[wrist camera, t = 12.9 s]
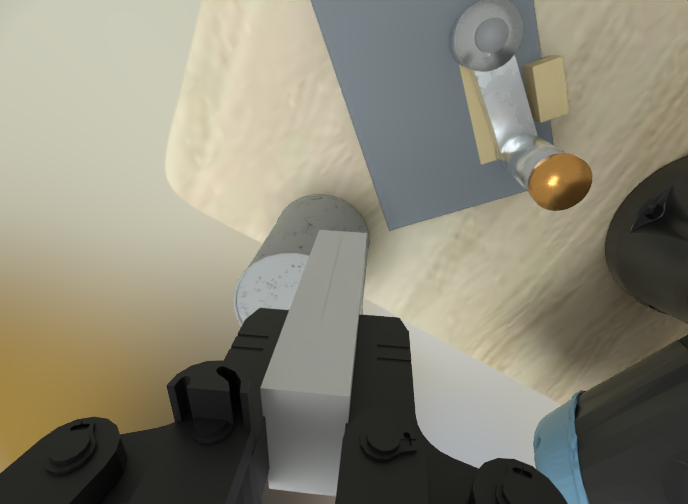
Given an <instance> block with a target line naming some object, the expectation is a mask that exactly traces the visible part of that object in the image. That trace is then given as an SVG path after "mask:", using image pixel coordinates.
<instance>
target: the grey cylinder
mask: <svg viewBox="0 0 688 504" xmlns="http://www.w3.org/2000/svg"><path fill="white" fill-rule="evenodd" d="M319 230H330V231H345V232H360V233H367V238H366V254H365V269H364V284H365V273H366V263H367V253H368V248H369V233H368V230H367V226H366V224H365V222H364V220H363V219H362V217H361V215H360V214H359V213H358V212H357V211H356V210H355V209H354V208H353V207H352V206H351V205H349V204H348V203H346V202H345V201H343V200H340V199H338V198H336V197H333V196H327V195H310V196H306V197H302V198H300V199H298V200H296V201H294V202H292V203H291V204H290V205H289V206H288V207H286V208H285V209H284V211H283V212H282V214H281V215H280V217H279V218H278V221H277V223H276V225H275V226H274V228H273V229H272V231H271V232H270V234H269V236H268V237H267V239H266V240H265V242H264V243H263V245H262V247H261V248H260V250H259V251H258V253H257V254H256V256H255V257H254V259H253V261H252V262H251V264H250V265H249V267H248V268H247V269H246V270H245V271H244V273H243V274H242V276H241V277H240V279H239V280H238V282H237V285H236V288H235V291H234V310H235V314H236V318H237V320H238V322H239V324H240V326H241V327H242V325H243V323H244V321H245V319H246V318H247V317H249V316H250V315H251V314H252V313H254V312H255V311H256V310H257V309H259V308H270V309H283V310H290V307H291V304H292V301H293V299H294V296H295V293H296V291H297V288H298V285H299V283H300V280H301V277H302V275H303V272H304V269H305V267H306V264H307V261H308V258H309V256H310V253H311V250H312V248H313V245H314V242H315V240H316V237H317V234H318V232H319ZM363 294H364V285H363ZM362 305H363V301H362ZM361 315H363V310H362V313H361Z"/></svg>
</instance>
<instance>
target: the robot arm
mask: <svg viewBox="0 0 688 504" xmlns="http://www.w3.org/2000/svg"><path fill="white" fill-rule="evenodd" d="M366 238H367V233H360V232H345V231H330V230H319V232H318V234H317V237H316V240H315V242H314V245H313V248H312V250H311V253H310V256H309V258H308V261H307V264H306V267H305V269H304V272H303V275H302V277H301V280H300V283H299V285H298V288H297V291H296V293H295V296H294V299H293V301H292V304H291V307H290V310H283V309H270V308H259V309H257V310H256V311H255V312H254V313H252V314H251V315H250V316H249V317H247V318H246V319H245V321H244V323H243V325H242V327H241V329H240V331H239V332H238V336H237V337H236V338H235V340H234V342H233V344H232V346H231V349H229V351H228V353H227V355H226V357H225V359H224V361H206V362H202V363H200V364H196V365H193V366H190V367H188V368H187V369H185V370H183V371H182V372H180V373H178V374H177V375H176V376H175V377H174V378H173V379H172V380H171V381H170V382H169V383H168V385H167V389H168V394H169V398H170V402H171V407H172V411H173V415H174V419H175V422H174V423H171V424H169V425H166V426H162V427H159V428H154V429H149V430H143V431H138V432H132V433H126V434H121V435H120V434H119V431H118V428H117V425H115V424H114V423H112V422H111V421H110V420H109V419H105V418H98V417H90V418H83V419H77V420H74V421H72V422H70V423H67V424H65V425H63V426H60V427H58V428H56V429H55V430H54V431H52V432H51V433H49V434H48V435H46V436H45V437H43V438H42V439H41V440H39V441H38V442H37V443H36V444H35V445H33V446H32V447H31V448H30V449H29V450H28V451H26V452H25V453H24V454H23V455H22V456H20V457H19V458H18V459H17V460H16V461H15V462H13V463H12V464H11V465H10V466H9V467H8V468H6V469H5V470H4V471H3V472H1V473H0V504H262V499H261V497H262V494H263V490H264V487H265V483H266V480H267V476H268V480H269V488H270V489H278V490H287V491H295V492H305V493H313V494H322V495H330V496H336V501H335V504H688V335H686V336H685V337H683V338H681V339H679V340H676V341H675V342H673V343H671V344H669V345H668V346H666V347H664V348H662V349H661V350H659V351H657V352H655V353H654V354H652V355H650V356H648V357H647V358H645V359H643V360H641V361H640V362H638V363H636V364H634V365H633V366H631V367H629V368H627V369H626V370H624V371H622V372H620V373H619V374H617V375H615V376H613V377H611V378H609V379H608V380H606V381H604V382H602V383H600V384H598V385H597V386H595V387H593V388H591V389H589V390H587V391H579V392H577V393H575V394H574V395H573V397H572V399H571V400H569V401H568V402H566V403H565V404H563V405H562V406H560V407H559V408H557V409H556V410H554V411H553V412H551V413H549V414H548V415H546V416H545V417H544V418H543V419H542V420H541V421H540V422H539V424H538V426H537V428H536V431H535V435H534V443H533V444H534V453H535V457H534V459H535V465H536V469H535V468H534V467H533V466H530V465H528V464H525V463H523V462H520V461H518V460H515V459H503V458H497V459H494V460H491V461H488V462H485V463H484V464H483V465H482V466H481V467H480V468H479V469H478V468H476V467H473V466H471V465H468V464H466V463H464V462H461V461H459V460H456V459H454V458H452V457H450V456H448V455H446V454H444V453H442V452H440V451H439V450H438V449H436V448H435V447H434V446H433V445H432V444H430V443H429V441H428V440H427V439H426V438H425V437H424V435H423V434H422V432H421V430H420V428H419V426H418V424H417V419H416V415H415V402H414V390H413V378H412V365H411V353H410V340H409V331H408V330H407V329H406V327H405V326H404V324H403V323H402V321H401V320H400V318H396V317H384V316H372V315H371V316H370V315H361V313H362V301H363V285H364V269H365V254H366ZM605 254H606V261H607V265H608V268H609V270H610V272H611V274H612V276H613V277H614V279H615V280H616V281H617V282H618V284H619V285H620V286H621V287H622V288H623V289H624V290H625V291H626V292H627V293H628V294H629V295H630V296H632V297H633V298H634V299H635V300H637V301H638V302H640V303H641V304H643V305H644V306H646V307H648V308H651V309H653V310H656V311H658V312H661V313H664V314H668V315H671V316H673V317H675V318H677V319H680V320H682V321H683V322H685V323H687V324H688V156H687V157H685V158H682V159H680V160H678V161H675V162H673V163H671V164H669V165H667V166H666V167H664V168H662V169H661V170H659V171H657V172H656V173H654V174H653V175H652V176H650V177H649V178H647V179H646V180H645V181H644V182H643V183H641V184H640V185H639V186H638V187H637V188H636V189H635V190H634V191H633V192H632V193H631V194H630V195H629V196H628V197H627V199H626V200H625V201H624V202H623V204H622V205H621V207H620V208H619V210H618V211H617V213H616V215H615V216H614V218H613V220H612V222H611V225H610V227H609V230H608V234H607V238H606V245H605Z"/></svg>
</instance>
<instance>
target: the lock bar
mask: <svg viewBox="0 0 688 504" xmlns="http://www.w3.org/2000/svg"><path fill="white" fill-rule="evenodd" d="M491 18H500V19H502V20H504V21H505V22H506V24H507V26H508V29H509V36H508V39H507V42H506V43H505V45H504V46H503V47H502V48H501V49H500V50H498V51H496V52H492V53H486V52H482V51H480V50H479V49H478V48H477V46H476V44H475V40H474V37H475V32H476V30H477V28H478V26H479V25H480V24H481V23H482V22H484V21H485V20H487V19H491ZM522 35H523V22H522V18H521V15H520V13H519V11H518V10H517V8H516V7H515V6H514V5H513V4H512V3H511V2H509V1H507V0H481V1H479V2H477V3H475V4H473V5H472V6H470V7H468V8H467V9H465V10H464V11H463V12H462V13H461V14H460V15H459V16H458V18H457V19H456V21H455V22H454V24H453V27H452V30H451V33H450V49H451V52H452V55H453V57H454V59H455V60H456V61H457V62H458V63H459V64H460V65H461V66H463V67H465V68H467V69H469V70H470V73H471V76H472V79H473V82H474V85H475V88H476V92H477V95H478V98H479V101H480V104H481V107H482V110H483V113H484V116H485V119H486V122H487V125H488V128H489V131H490V134H491V137H492V140H493V143H494V146H495V157H496V159H497V161H498V162H499V163H500V164H501V165H502V166H503V167H504V168H505V169H506V170H507V171H508V172H509V173H510V174H511V175H512V176H513V177H514V178H515V179H516V180H517V181H518V182H519V183H520V184H521V185H522V186H523V187H524V188H525V189H526V190H527V191H528V192H529V194H530V195H531V197H532V198H533V199H534V200H535V202H536V203H537V204H539V205H540V206H541V207H543V208H545V209H548V210H553V211H559V210H565V209H568V208H570V207H572V206H574V205H576V204H577V203H579V202H580V201H581V200H582V199H583V198H584V197H585V196H586V194H587V193H588V191H589V189H590V187H591V184H592V172H591V169H590V167H589V166H588V164H587V163H586V162H585V161H583V160H582V159H580V158H578V157H577V156H575V155H572V154H569V153H566V152H564V151H562V150H560V149H559V148H557V147H555V146H553V145H552V144H550V143H548V142H546V141H545V140H543V139H541V138H539V137H538V135H537V131H536V128H535V124H534V121H533V117H532V114H531V110H530V107H529V103H528V100H527V96H526V93H525V89H524V86H523V82H522V79H521V75H520V72H519V68H518V65H517V61H516V58H515V53H516V51H517V50H518V48H519V46H520V43H521V40H522Z"/></svg>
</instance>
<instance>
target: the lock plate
mask: <svg viewBox="0 0 688 504" xmlns="http://www.w3.org/2000/svg"><path fill="white" fill-rule="evenodd" d="M479 1H481V0H311V3H312V6H313V9H314V11H315V14H316V17H317V20H318V23H319V26H320V29H321V32H322V35H323V38H324V41H325V44H326V47H327V50H328V52H329V55H330V58H331V61H332V64H333V67H334V70H335V73H336V76H337V79H338V82H339V85H340V88H341V91H342V94H343V96H344V99H345V102H346V105H347V108H348V111H349V114H350V117H351V120H352V123H353V126H354V129H355V132H356V135H357V137H358V140H359V143H360V146H361V149H362V152H363V155H364V158H365V161H366V164H367V167H368V170H369V173H370V176H371V178H372V181H373V184H374V187H375V190H376V193H377V196H378V199H379V202H380V205H381V208H382V211H383V214H384V217H385V220H386V222H387V225H388V228H389V231H390V230H394V229H397V228H401V227H404V226H407V225H411V224H414V223H418V222H421V221H425V220H428V219H432V218H435V217H438V216H442V215H445V214H449V213H452V212H456V211H459V210H462V209H466V208H469V207H473V206H476V205H480V204H483V203H487V202H490V201H493V200H497V199H500V198H504V197H507V196H511V195H514V194H518V193H521V192H524V191H527V190H526V189H525V188H524V187H523V186H522V185H521V184H520V183H519V182H518V181H517V180H516V179H515V178H514V177H513V176H512V175H511V174H510V173H509V172H508V171H507V170H506V169H505V168H504V167H503V166H502V165H501V164H500V163H499V162H498V161H497V159H496V157H495V146H494V143H493V140H492V137H491V134H490V131H489V128H488V125H487V122H486V119H485V116H484V113H483V110H482V107H481V104H480V101H479V98H478V95H477V92H476V88H475V85H474V82H473V79H472V76H471V73H470V70H469V69H467V68H465V67H463V66H461V65H460V64H459V63H458V62H457V61H456V60H455V59H454V57H453V55H452V52H451V49H450V33H451V30H452V27H453V24H454V22H455V21H456V19H457V18H458V16H459V15H460V14H461V13H462V12H463V11H464V10H465V9H467V8H468V7H470V6H472V5H473V4H475V3H477V2H479ZM507 1H509V2H511V3H512V4H513V5H514V6H515V7H516V8H517V10H518V11H519V13H520V15H521V18H522V22H523V35H522V40H521V43H520V46H519V48H518V50H517V51H516V53H515V58H516V61H517V65H518V68H519V72H520V75H521V79H522V82H523V86H524V89H525V93H526V96H527V100H528V103H529V107H530V110H531V114H532V117H533V121H534V124H535V128H536V131H537V135H538V137H539V138H541V139H543V140H545V141H546V142H548V143H550V144H552V145H553V138H552V130H551V123H550V120H551V119H554V118H557V117H560V116H563V115H566V114H569V105H568V97H567V88H566V80H565V72H564V63H563V56H548V57H545V58H543V59H542V58H541V51H540V44H539V37H538V30H537V22H536V15H535V8H534V1H533V0H507ZM508 36H509V29H508V26H507V24H506V22H505V21H504V20H502V19H500V18H491V19H487V20H485V21H484V22H482V23H481V24H480V25H479V26H478V28H477V30H476V32H475V37H474V40H475V44H476V46H477V48H478V49H479V50H480V51H482V52H486V53H492V52H496V51H498V50H500V49H501V48H502V47H503V46H504V45H505V43H506V42H507V39H508ZM553 146H554V145H553Z"/></svg>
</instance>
